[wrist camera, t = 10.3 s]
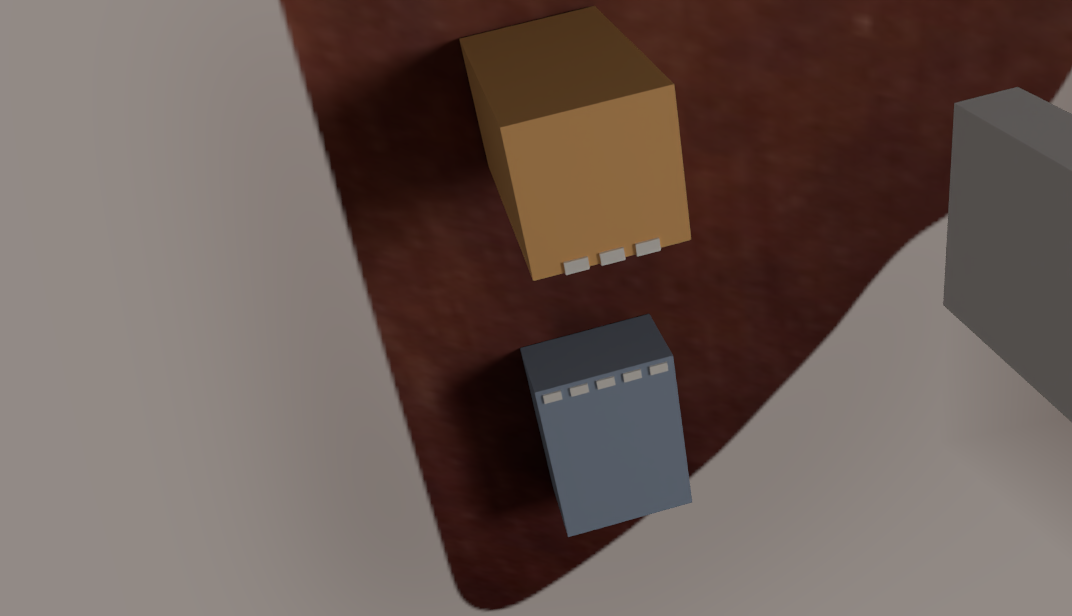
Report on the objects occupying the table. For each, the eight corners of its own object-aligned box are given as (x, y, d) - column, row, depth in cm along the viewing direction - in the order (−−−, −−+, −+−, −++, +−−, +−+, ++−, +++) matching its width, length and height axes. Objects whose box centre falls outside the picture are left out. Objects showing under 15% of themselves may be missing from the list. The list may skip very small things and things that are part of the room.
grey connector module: (669, 455, 55) (692, 503, 52) (553, 487, 55) (568, 538, 51) (649, 313, 50) (673, 356, 47) (520, 348, 50) (535, 393, 46)
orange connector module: (613, 135, 44) (692, 242, 35) (488, 167, 44) (534, 283, 35) (594, 5, 41) (675, 85, 32) (459, 38, 41) (500, 128, 31)
